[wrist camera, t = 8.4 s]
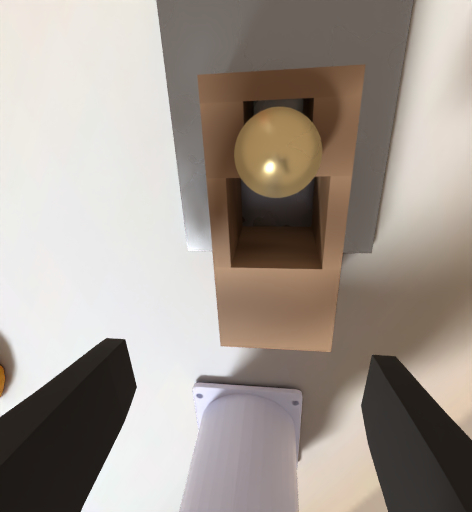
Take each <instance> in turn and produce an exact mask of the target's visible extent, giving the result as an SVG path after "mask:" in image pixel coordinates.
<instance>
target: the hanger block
mask: <svg viewBox="0 0 472 512" xmlns="http://www.w3.org/2000/svg"><path fill="white" fill-rule="evenodd" d="M365 65H366V64H363V65H347V66H331V67H315V68H299V69H283V70H267V71H250V72H234V73H218V74H202V75H197V78H198V89H199V101H200V112H201V124H202V135H203V147H204V159H205V170H206V182H207V193H208V205H209V216H210V228H211V239H212V251H213V262H214V274H215V286H216V297H217V309H218V320H219V332H220V343H221V346H229V347H247V348H266V349H285V350H304V351H322V352H331V347H332V339H333V330H334V322H335V314H336V306H337V297H338V289H339V281H340V272H341V264H342V256H343V248H344V239H345V231H346V223H347V214H348V206H349V198H350V190H351V181H352V173H353V165H354V156H355V148H356V140H357V132H358V123H359V115H360V107H361V98H362V90H363V82H364V74H365ZM300 98H304V102H303V114H304V115H305V116H307V117H308V118H309V119H310V120H311V121H312V123H313V124H314V125H315V127H316V129H317V130H318V133H319V135H320V138H321V142H322V159H321V163H320V166H319V169H318V171H317V173H316V175H315V180H314V194H313V209H312V224H311V227H273V226H243V223H242V196H241V177H240V176H239V174H238V171H237V169H236V165H235V159H234V150H235V144H236V140H237V137H238V135H239V133H240V131H241V129H242V128H243V126H244V125H245V124H246V122H247V121H248V120H249V119H250V118H252V117H253V116H254V101H260V100H280V99H300Z"/></svg>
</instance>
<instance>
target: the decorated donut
mask: <svg viewBox="0 0 472 512" xmlns="http://www.w3.org/2000/svg"><path fill="white" fill-rule="evenodd" d="M4 383H5V375H4V369H3V367H2V366H1V365H0V397H1V395H2V392H3V389H4Z"/></svg>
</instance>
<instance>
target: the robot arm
mask: <svg viewBox="0 0 472 512" xmlns="http://www.w3.org/2000/svg"><path fill="white" fill-rule="evenodd" d="M136 388H137V386H136V382H135V378H134V373H133V369H132V365H131V361H130V357H129V353H128V349H127V345H126V341H125V339H112V338H106V339H105V340H103V341H102V342H100V343H99V344H98V345H96V346H95V347H94V348H92V349H91V350H90V351H88V352H87V353H86V354H85V355H83V356H82V357H81V358H79V359H78V360H77V361H75V362H74V363H73V364H72V365H70V366H69V367H68V368H66V369H65V370H64V371H63V372H61V373H60V374H59V375H57V376H56V377H55V378H53V379H52V380H51V381H49V382H48V383H47V384H45V385H44V386H43V387H41V388H40V389H39V390H37V391H36V392H35V393H33V394H32V395H31V396H29V397H28V398H26V399H25V400H24V401H22V402H21V403H19V404H18V405H16V406H15V407H14V408H12V409H11V410H9V411H8V412H7V413H5V414H4V415H2V416H1V417H0V512H81V510H82V507H83V505H84V503H85V501H86V499H87V497H88V495H89V493H90V491H91V489H92V487H93V485H94V483H95V481H96V479H97V477H98V475H99V473H100V471H101V469H102V467H103V465H104V463H105V461H106V459H107V457H108V455H109V453H110V451H111V449H112V446H113V444H114V442H115V440H116V438H117V436H118V434H119V432H120V430H121V428H122V426H123V424H124V422H125V419H126V416H127V414H128V411H129V408H130V406H131V403H132V400H133V397H134V394H135V391H136ZM193 397H194V403H195V410H196V416H197V423H198V430H199V431H198V435H197V439H196V443H195V448H194V452H193V456H192V460H191V464H190V468H189V472H188V476H187V480H186V485H185V489H184V493H183V497H182V501H181V505H180V509H179V512H299V504H298V483H297V467H298V453H299V440H300V426H301V413H302V399H303V398H302V392H301V391H299V390H297V389H285V388H271V387H256V386H242V385H228V384H213V383H195V384H194V386H193ZM361 408H362V413H363V419H364V425H365V430H366V435H367V440H368V445H369V448H370V452H371V455H372V459H373V462H374V466H375V469H376V472H377V476H378V479H379V482H380V486H381V489H382V492H383V496H384V499H385V502H386V506H387V509H388V512H472V440H471V439H470V438H469V437H468V436H467V435H466V434H465V433H464V431H463V430H462V429H461V428H460V427H459V426H458V425H457V424H456V423H455V422H454V421H453V420H452V419H451V418H450V417H449V415H448V414H447V413H446V412H445V411H444V410H443V409H442V408H441V407H440V406H439V405H438V403H437V402H436V401H435V400H434V399H433V398H432V397H431V396H430V395H429V393H428V392H427V391H426V390H425V389H424V388H423V387H422V386H421V384H420V383H419V382H418V381H417V380H416V379H415V378H414V377H413V375H412V374H411V373H410V372H409V371H408V370H407V369H406V367H405V366H404V365H403V364H402V363H401V362H400V361H399V360H398V359H397V357H396V356H382V355H372V358H371V363H370V367H369V372H368V376H367V381H366V386H365V390H364V395H363V399H362V404H361Z"/></svg>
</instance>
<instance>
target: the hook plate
mask: <svg viewBox="0 0 472 512" xmlns="http://www.w3.org/2000/svg"><path fill="white" fill-rule="evenodd" d="M413 1H414V0H157V8H158V16H159V24H160V32H161V40H162V48H163V56H164V64H165V72H166V80H167V88H168V96H169V104H170V112H171V120H172V128H173V136H174V144H175V152H176V160H177V168H178V176H179V184H180V192H181V200H182V208H183V216H184V224H185V232H186V240H187V248H188V251H212V239H211V228H210V216H209V205H208V193H207V182H206V170H205V159H204V147H203V135H202V124H201V112H200V101H199V89H198V78H197V75H202V74H218V73H234V72H250V71H267V70H283V69H299V68H315V67H331V66H347V65H363V64H366V65H365V74H364V82H363V90H362V98H361V107H360V115H359V123H358V132H357V140H356V148H355V156H354V165H353V173H352V181H351V190H350V198H349V206H348V214H347V223H346V231H345V239H344V248H343V253H372V247H373V241H374V235H375V229H376V223H377V217H378V211H379V205H380V199H381V193H382V187H383V181H384V175H385V169H386V163H387V157H388V151H389V145H390V139H391V133H392V127H393V121H394V115H395V109H396V103H397V97H398V91H399V85H400V79H401V73H402V67H403V61H404V55H405V49H406V43H407V37H408V31H409V25H410V19H411V13H412V7H413ZM303 102H304V98H300V99H280V100H260V101H254V116H253V117H252V118H250V119H249V120H248V121H247V122H246V124H245V125H244V126H243V128H242V129H241V131H240V133H239V135H238V137H237V140H236V144H235V150H234V159H235V165H236V169H237V171H238V174H239V176H240V177H241V196H242V223H243V226H273V227H311V224H312V209H313V194H314V180H315V175H316V173H317V171H318V169H319V166H320V163H321V159H322V142H321V138H320V135H319V133H318V130H317V129H316V127H315V125H314V124H313V123H312V121H311V120H310V119H309V118H308V117H307V116H305V115H304V114H303Z"/></svg>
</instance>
